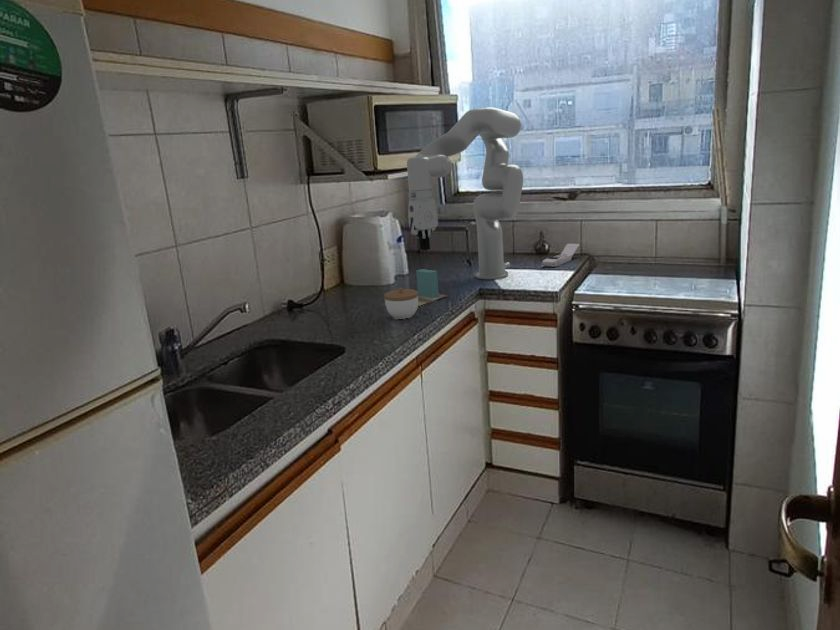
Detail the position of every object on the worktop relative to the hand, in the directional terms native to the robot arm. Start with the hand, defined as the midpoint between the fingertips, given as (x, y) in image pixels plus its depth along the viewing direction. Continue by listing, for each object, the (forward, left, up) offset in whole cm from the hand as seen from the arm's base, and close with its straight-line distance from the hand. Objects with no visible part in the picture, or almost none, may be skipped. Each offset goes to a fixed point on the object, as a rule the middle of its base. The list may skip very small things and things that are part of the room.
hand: (425, 249), depth 208 cm
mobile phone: (-68, +10, -18) cm, 71 cm away
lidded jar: (+21, +9, -17) cm, 29 cm away
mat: (+4, 0, -17) cm, 18 cm away
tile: (0, 0, -16) cm, 17 cm away
